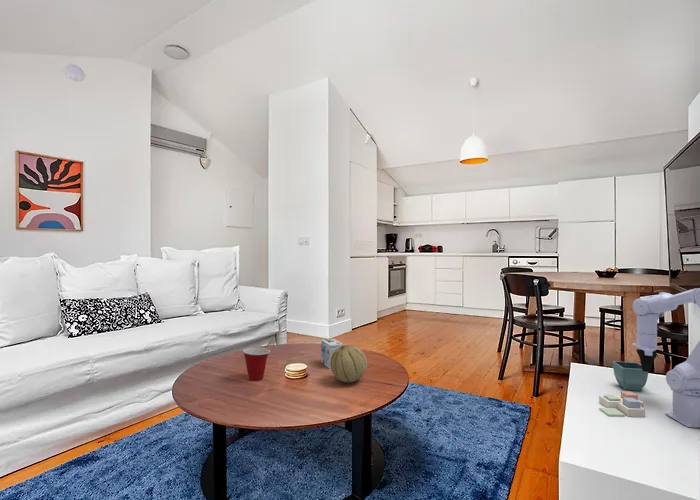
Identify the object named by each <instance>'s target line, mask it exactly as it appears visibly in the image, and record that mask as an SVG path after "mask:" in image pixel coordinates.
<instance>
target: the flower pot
mask: <svg viewBox="0 0 700 500" xmlns="http://www.w3.org/2000/svg"><path fill="white" fill-rule="evenodd" d="M612 369H613V374H614V377H615V380H616V382H617V384H618V385H619V386H620V387H621V388H623V390H626V391H637V392H638V391H640V392H641V390H643V388H644V387H645V386H646V383H647V380H648V376H649V372H645V371H643V370H642V367H641V363H639V362H634V361H632V362H631V361H617V360H613V361H612Z"/></svg>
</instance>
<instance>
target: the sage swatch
mask: <svg viewBox="0 0 700 500" xmlns="http://www.w3.org/2000/svg"><path fill="white" fill-rule="evenodd" d="M598 411H600V412H602V413H603V414H605V415H606V416H607V417H623V418H624V417H625V416H626V415H625V414H624V413H622V412H621V411H619V410H618V409H615V408H606V407H599V408H598Z"/></svg>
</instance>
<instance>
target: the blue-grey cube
mask: <svg viewBox="0 0 700 500" xmlns="http://www.w3.org/2000/svg"><path fill="white" fill-rule="evenodd" d="M638 400H639V399H638ZM638 400H636V399H634V398H623V405H625V406H626V407H628V408H636V409H640V401H641V400H640V401H638Z"/></svg>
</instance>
